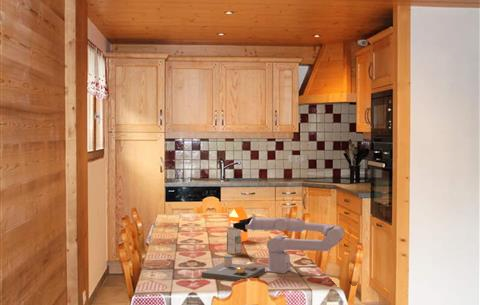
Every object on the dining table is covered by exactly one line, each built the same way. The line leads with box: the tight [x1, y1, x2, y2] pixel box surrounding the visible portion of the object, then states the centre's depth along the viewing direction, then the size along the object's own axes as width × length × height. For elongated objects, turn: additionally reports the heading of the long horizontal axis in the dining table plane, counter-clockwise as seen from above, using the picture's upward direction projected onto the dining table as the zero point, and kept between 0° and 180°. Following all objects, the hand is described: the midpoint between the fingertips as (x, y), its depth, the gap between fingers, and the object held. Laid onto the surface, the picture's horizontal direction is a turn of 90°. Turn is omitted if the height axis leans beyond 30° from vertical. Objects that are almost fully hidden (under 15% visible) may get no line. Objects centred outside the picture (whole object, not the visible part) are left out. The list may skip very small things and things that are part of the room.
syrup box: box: [226, 225, 243, 255], centre depth 296 cm, size 6×6×14 cm
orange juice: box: [228, 205, 249, 242], centre depth 331 cm, size 8×9×20 cm
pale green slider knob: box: [223, 255, 233, 267], centre depth 259 cm, size 3×2×5 cm, turn 63°
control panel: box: [201, 262, 266, 282], centre depth 253 cm, size 22×20×2 cm
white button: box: [245, 261, 256, 270], centre depth 255 cm, size 4×4×3 cm
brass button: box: [236, 267, 245, 275], centre depth 246 cm, size 4×4×3 cm
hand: (236, 224), depth 265 cm, fingers open, 7 cm apart
